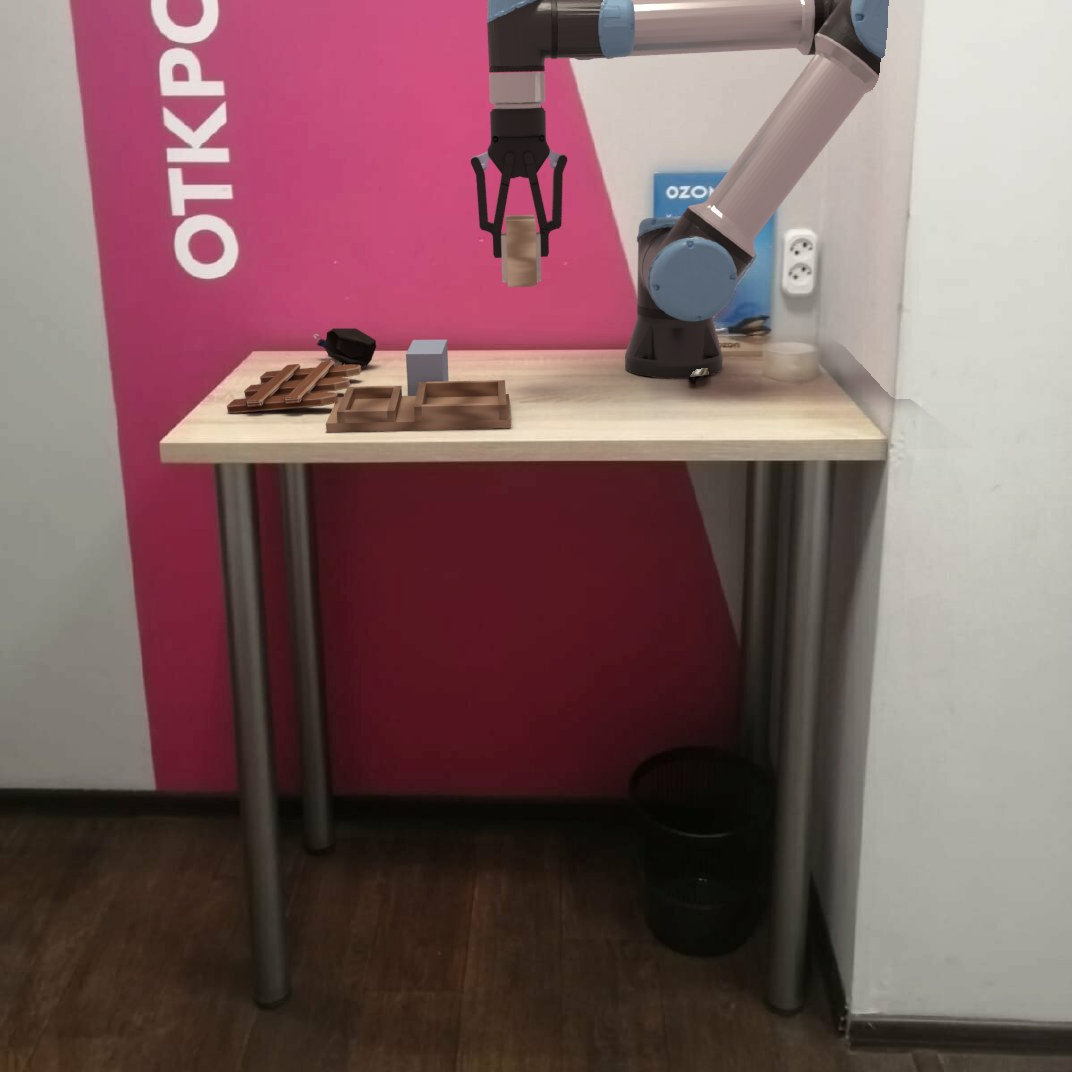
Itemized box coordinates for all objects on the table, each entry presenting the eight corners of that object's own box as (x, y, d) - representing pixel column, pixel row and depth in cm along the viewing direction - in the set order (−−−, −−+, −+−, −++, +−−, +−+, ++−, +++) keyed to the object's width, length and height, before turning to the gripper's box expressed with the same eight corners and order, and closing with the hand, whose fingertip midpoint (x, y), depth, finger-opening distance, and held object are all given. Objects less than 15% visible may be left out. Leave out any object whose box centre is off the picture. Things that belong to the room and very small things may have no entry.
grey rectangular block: (448, 386, 189) (447, 339, 187) (443, 402, 180) (441, 353, 177) (415, 386, 189) (413, 339, 187) (408, 402, 180) (405, 354, 177)
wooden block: (534, 278, 183) (533, 214, 180) (536, 286, 176) (535, 220, 173) (507, 279, 183) (505, 215, 180) (508, 287, 176) (506, 220, 173)
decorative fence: (225, 415, 174) (333, 407, 172) (223, 403, 173) (331, 394, 172) (268, 377, 195) (364, 369, 194) (266, 366, 195) (362, 358, 193)
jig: (509, 402, 179) (508, 380, 178) (510, 428, 166) (510, 404, 165) (338, 405, 178) (336, 383, 177) (326, 432, 165) (324, 408, 164)
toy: (367, 343, 212) (386, 334, 198) (358, 380, 212) (377, 374, 198) (313, 328, 209) (329, 318, 195) (304, 365, 209) (319, 358, 195)
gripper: (578, 104, 175) (579, 275, 183) (455, 107, 175) (461, 278, 183) (582, 105, 168) (583, 283, 176) (453, 108, 168) (460, 286, 176)
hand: (521, 280), depth 179 cm, fingers closed on wooden block, 4 cm apart
